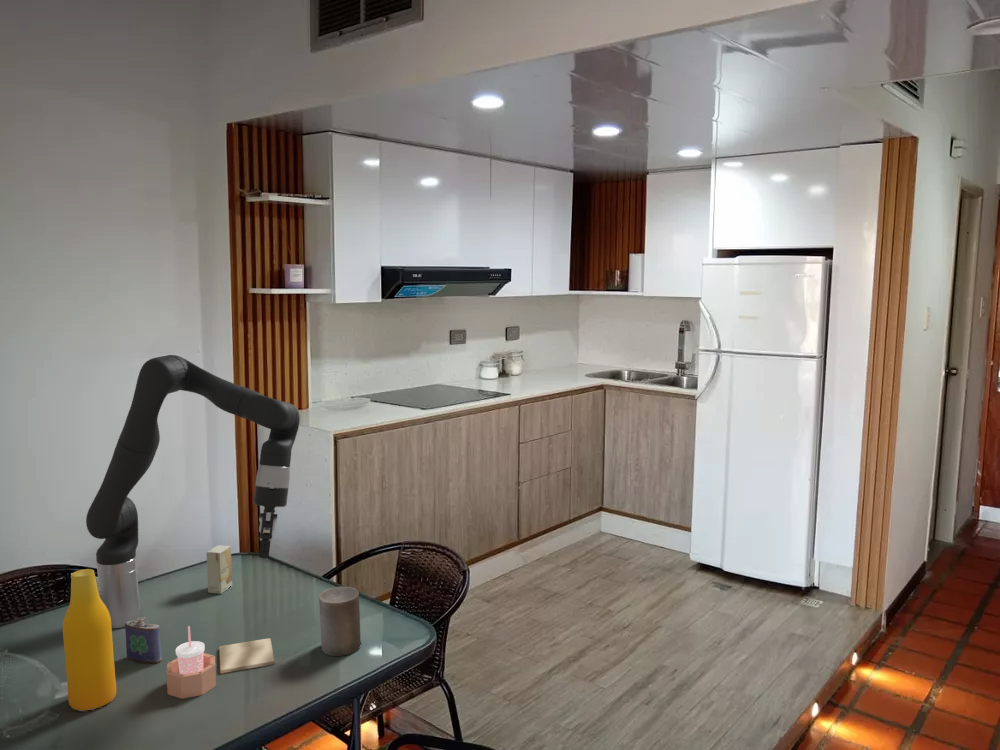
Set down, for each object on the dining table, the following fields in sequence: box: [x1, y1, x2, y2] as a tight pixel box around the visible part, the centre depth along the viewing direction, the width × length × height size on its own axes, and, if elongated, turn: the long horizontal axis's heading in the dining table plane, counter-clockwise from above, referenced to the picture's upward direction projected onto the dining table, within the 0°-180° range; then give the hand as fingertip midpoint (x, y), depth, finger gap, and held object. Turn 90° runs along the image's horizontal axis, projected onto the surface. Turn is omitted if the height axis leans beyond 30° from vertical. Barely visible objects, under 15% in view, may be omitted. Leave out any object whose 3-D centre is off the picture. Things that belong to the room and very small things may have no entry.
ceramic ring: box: [165, 652, 217, 699], centre depth 174 cm, size 10×10×5 cm
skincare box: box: [206, 544, 233, 595], centre depth 224 cm, size 6×4×12 cm
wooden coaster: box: [219, 637, 275, 674], centre depth 186 cm, size 12×12×1 cm
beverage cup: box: [175, 625, 206, 675], centre depth 173 cm, size 6×6×14 cm
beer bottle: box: [62, 568, 117, 711], centre depth 166 cm, size 9×9×29 cm
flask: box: [124, 616, 162, 665], centre depth 184 cm, size 9×3×11 cm, turn 74°
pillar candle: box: [318, 586, 362, 657], centre depth 190 cm, size 10×10×15 cm
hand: (263, 555), depth 181 cm, fingers open, 8 cm apart
